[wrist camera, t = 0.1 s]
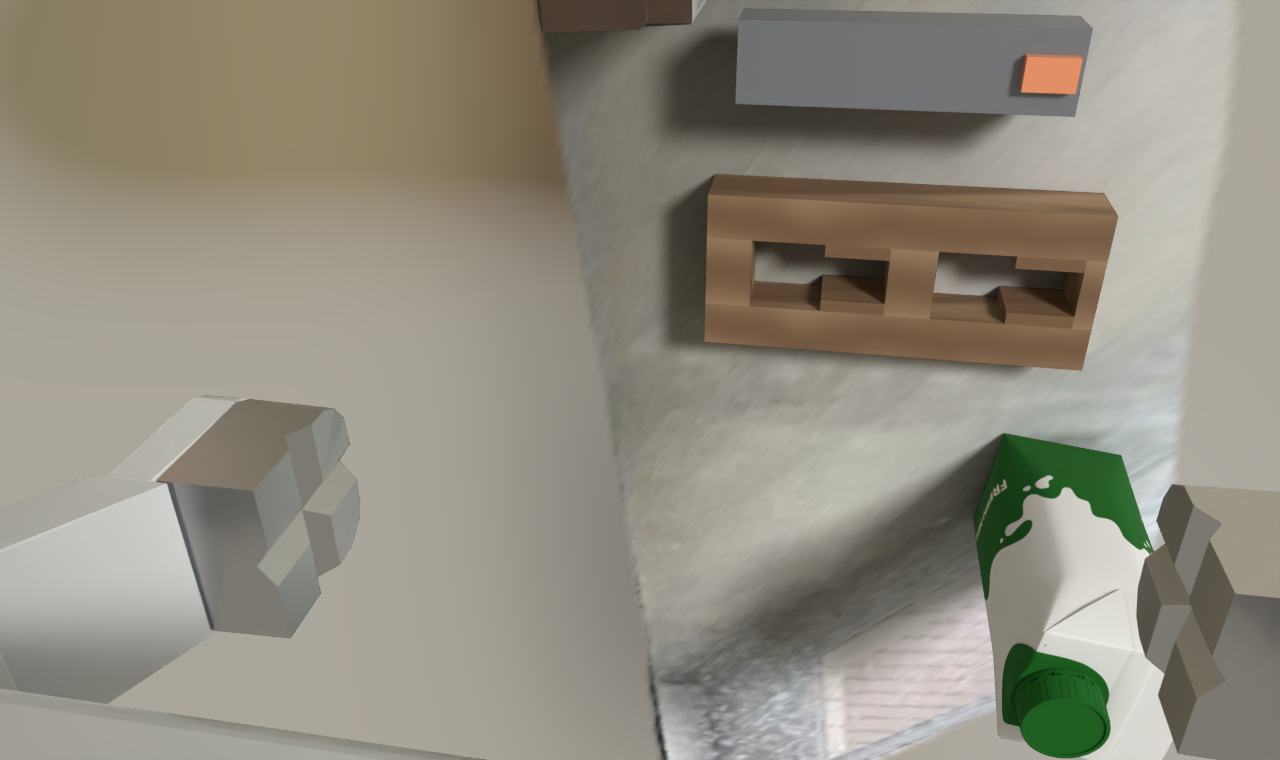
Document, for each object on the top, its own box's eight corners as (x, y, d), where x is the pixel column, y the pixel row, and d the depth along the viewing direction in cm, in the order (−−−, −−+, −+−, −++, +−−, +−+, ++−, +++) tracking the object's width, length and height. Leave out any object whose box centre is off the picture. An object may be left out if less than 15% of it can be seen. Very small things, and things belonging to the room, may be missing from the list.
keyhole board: (715, 174, 58) (707, 194, 55) (1104, 193, 55) (1118, 216, 52) (711, 315, 63) (704, 341, 60) (1070, 341, 59) (1081, 370, 56)
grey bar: (748, 0, 53) (737, 22, 48) (1072, 7, 50) (1095, 31, 45) (745, 78, 55) (734, 107, 50) (1056, 89, 52) (1077, 120, 47)
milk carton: (993, 417, 63) (1042, 651, 46) (1144, 445, 62) (1252, 695, 45) (955, 528, 67) (987, 778, 50) (1095, 556, 66) (1177, 820, 49)
